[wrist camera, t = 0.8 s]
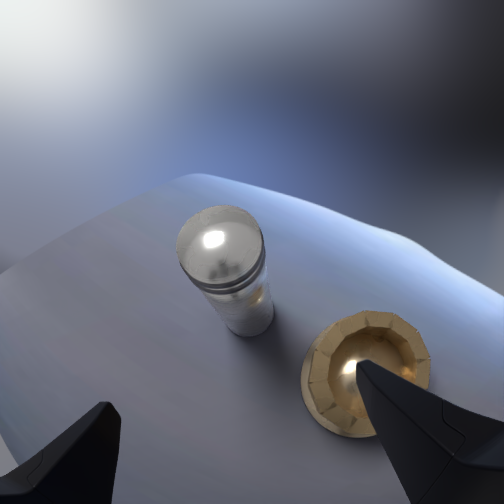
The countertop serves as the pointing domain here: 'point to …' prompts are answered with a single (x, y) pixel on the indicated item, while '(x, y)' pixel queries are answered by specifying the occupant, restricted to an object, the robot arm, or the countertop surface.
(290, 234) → the countertop surface
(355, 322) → the ring collar
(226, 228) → the cylinder
